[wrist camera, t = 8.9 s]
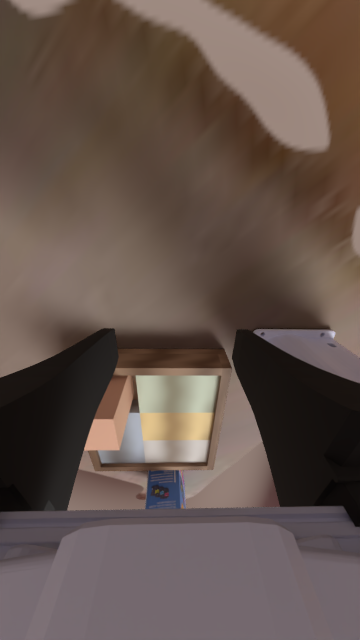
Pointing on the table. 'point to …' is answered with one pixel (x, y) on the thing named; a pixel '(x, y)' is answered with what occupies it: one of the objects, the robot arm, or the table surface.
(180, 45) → the table surface
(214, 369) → the puzzle tray
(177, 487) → the ink cartridge box
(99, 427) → the terracotta block
